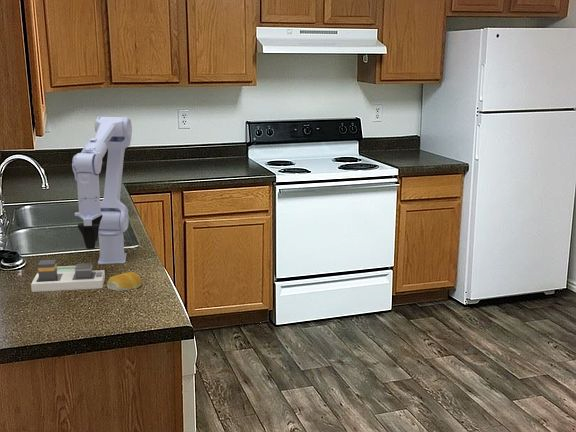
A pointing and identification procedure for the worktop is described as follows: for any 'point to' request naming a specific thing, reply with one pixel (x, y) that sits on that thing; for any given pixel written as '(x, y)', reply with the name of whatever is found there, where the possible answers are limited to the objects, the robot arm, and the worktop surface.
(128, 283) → the bread roll
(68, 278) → the strip
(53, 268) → the plug
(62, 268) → the tray
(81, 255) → the worktop surface
